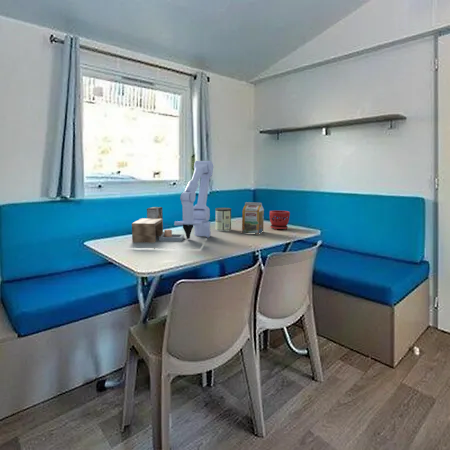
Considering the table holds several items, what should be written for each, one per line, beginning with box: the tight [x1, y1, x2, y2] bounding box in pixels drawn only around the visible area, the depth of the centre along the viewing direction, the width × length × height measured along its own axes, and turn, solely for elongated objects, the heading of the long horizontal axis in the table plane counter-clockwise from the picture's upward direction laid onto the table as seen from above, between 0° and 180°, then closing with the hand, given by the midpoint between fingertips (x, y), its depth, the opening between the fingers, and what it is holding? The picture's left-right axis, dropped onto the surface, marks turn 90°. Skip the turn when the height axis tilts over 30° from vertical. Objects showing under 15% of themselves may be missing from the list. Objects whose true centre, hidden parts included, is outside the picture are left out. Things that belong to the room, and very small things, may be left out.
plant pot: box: [269, 210, 291, 230], centre depth 227 cm, size 13×13×12 cm
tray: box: [158, 233, 185, 242], centre depth 187 cm, size 12×9×3 cm
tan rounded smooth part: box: [163, 229, 173, 237], centre depth 186 cm, size 4×4×5 cm
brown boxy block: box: [131, 217, 164, 244], centre depth 187 cm, size 12×18×11 cm, turn 177°
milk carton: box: [241, 201, 265, 235], centre depth 211 cm, size 11×11×19 cm
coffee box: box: [146, 206, 164, 220], centre depth 205 cm, size 9×6×16 cm
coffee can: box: [215, 207, 232, 232], centre depth 221 cm, size 10×10×14 cm
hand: (188, 238), depth 186 cm, fingers closed
